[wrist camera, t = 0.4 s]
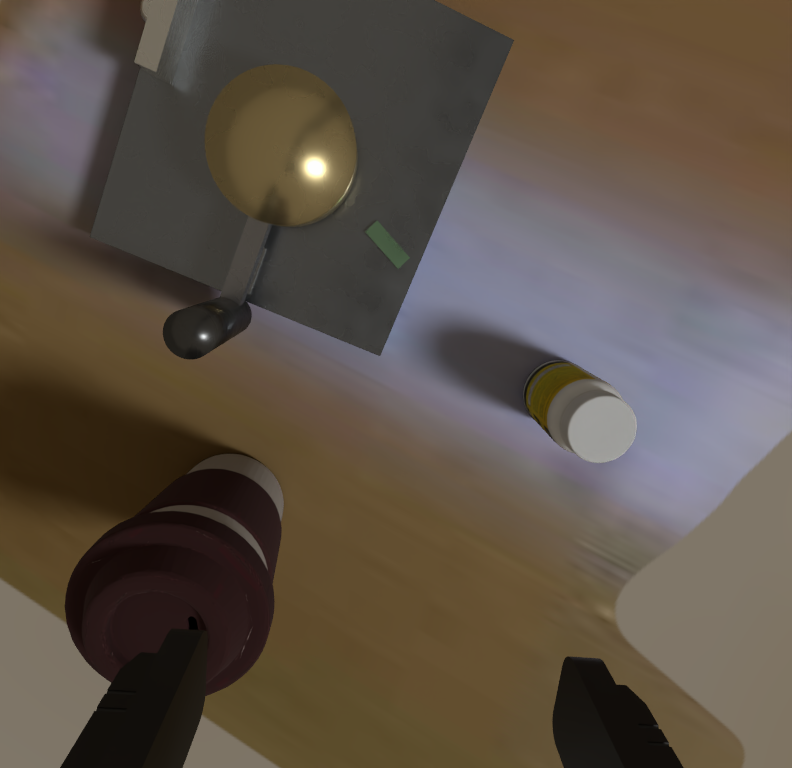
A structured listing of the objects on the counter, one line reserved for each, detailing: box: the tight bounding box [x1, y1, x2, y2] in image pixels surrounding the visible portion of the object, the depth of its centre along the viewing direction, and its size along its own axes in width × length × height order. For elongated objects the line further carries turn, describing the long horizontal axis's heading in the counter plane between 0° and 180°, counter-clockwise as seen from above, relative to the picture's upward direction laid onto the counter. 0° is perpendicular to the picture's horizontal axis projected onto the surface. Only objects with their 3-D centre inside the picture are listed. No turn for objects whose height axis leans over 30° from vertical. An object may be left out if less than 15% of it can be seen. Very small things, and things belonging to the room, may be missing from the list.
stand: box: [90, 0, 514, 356], centre depth 33 cm, size 20×19×4 cm
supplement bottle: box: [523, 360, 637, 463], centre depth 36 cm, size 5×5×8 cm
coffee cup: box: [65, 454, 284, 696], centre depth 34 cm, size 10×10×15 cm
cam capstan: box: [163, 64, 358, 359], centre depth 30 cm, size 15×8×8 cm, turn 157°
